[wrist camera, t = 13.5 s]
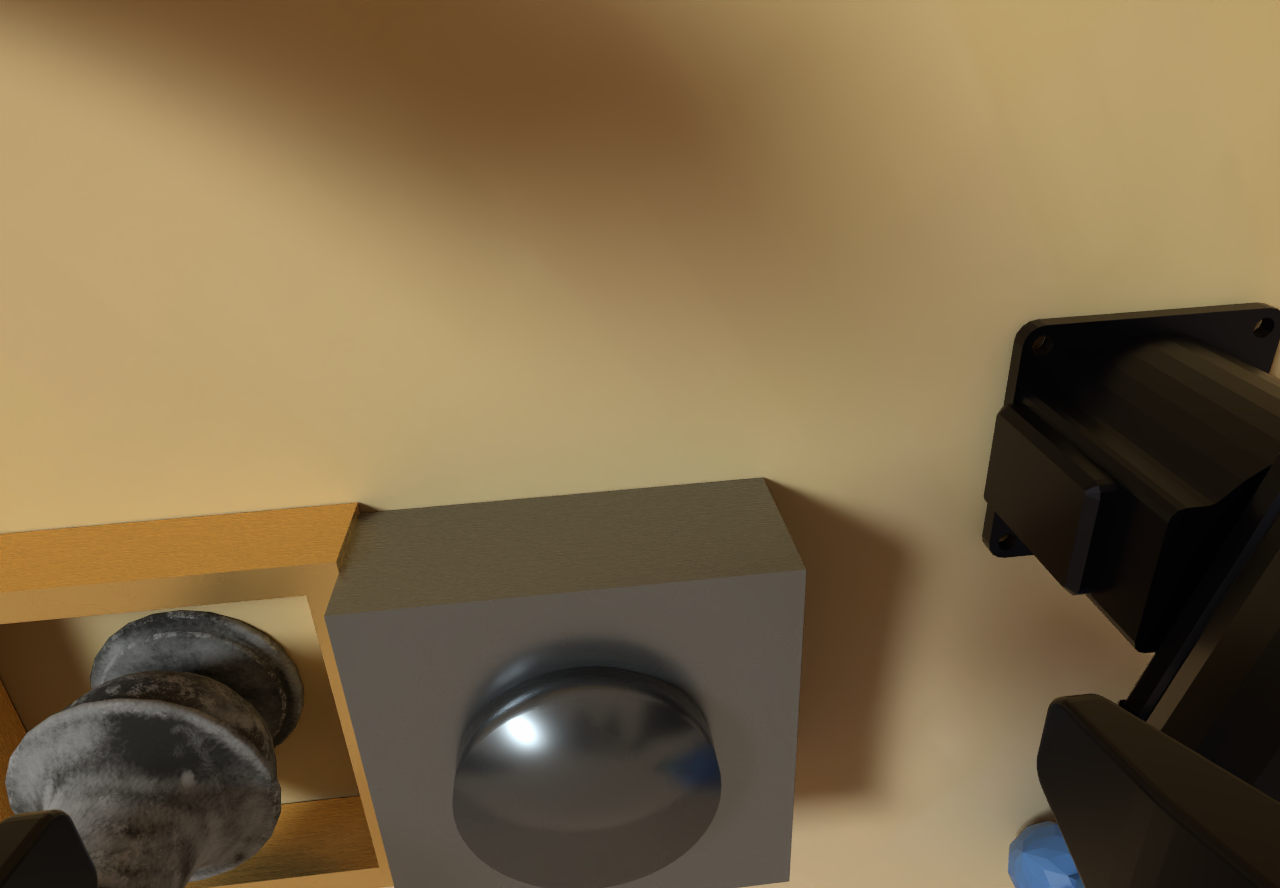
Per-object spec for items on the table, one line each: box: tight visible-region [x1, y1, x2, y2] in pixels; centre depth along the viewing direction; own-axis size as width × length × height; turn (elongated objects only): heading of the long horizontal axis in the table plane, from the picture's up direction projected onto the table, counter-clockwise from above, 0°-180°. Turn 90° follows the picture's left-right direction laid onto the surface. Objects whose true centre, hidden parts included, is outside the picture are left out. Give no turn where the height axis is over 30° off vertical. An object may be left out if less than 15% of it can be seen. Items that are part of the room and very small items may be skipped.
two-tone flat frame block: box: [0, 478, 806, 888], centre depth 21 cm, size 21×11×5 cm, turn 93°
